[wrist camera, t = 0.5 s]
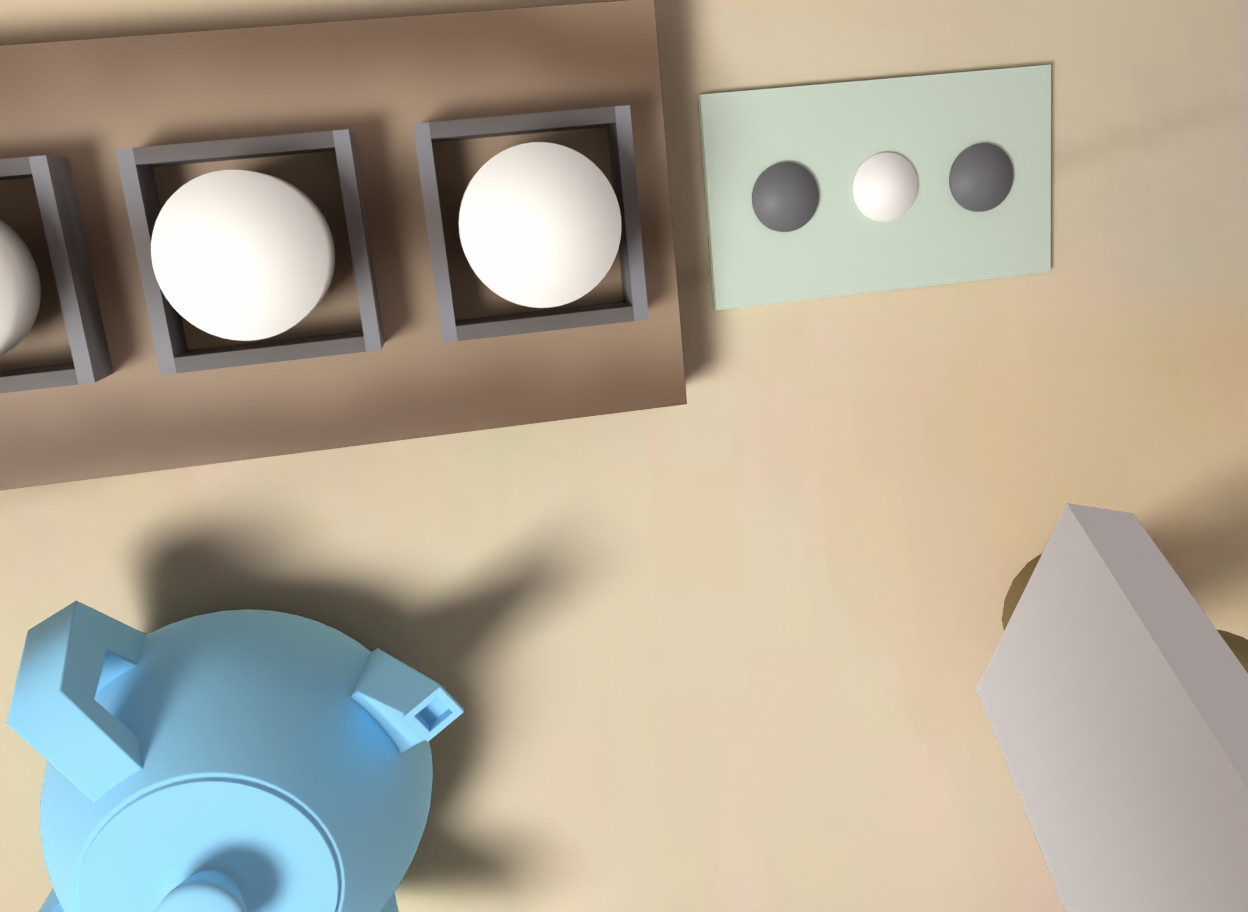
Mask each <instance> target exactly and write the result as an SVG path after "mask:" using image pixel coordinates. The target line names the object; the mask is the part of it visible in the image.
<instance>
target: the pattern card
mask: <svg viewBox="0 0 1248 912" xmlns="http://www.w3.org/2000/svg"><path fill="white" fill-rule="evenodd" d="M698 103H699V117H700V131H701V144H702V158H703V171H704V185H705V198H706V212H707V226H708V239H709V253H710V266H711V280H712V294H713V307H714V310H724V309H732V308H741V307H750V306H759V305H767V304H776V303H785V302H794V301H803V300H811V299H820V298H829V297H838V296H846V295H855V294H864V293H873V292H882V291H890V290H899V289H908V288H917V287H925V286H934V285H943V284H952V283H960V282H969V281H978V280H987V279H996V278H1004V277H1013V276H1022V275H1031V274H1039V273H1048V272H1051V65H1040V66H1029V67H1017V68H1005V69H994V70H982V71H970V72H958V73H947V74H935V75H923V76H911V77H900V78H888V79H876V80H865V81H853V82H841V83H829V84H818V85H806V86H794V87H782V88H771V89H759V90H747V91H736V92H724V93H712V94H700V95H698Z"/></svg>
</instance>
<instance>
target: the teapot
mask: <svg viewBox="0 0 1248 912" xmlns="http://www.w3.org/2000/svg"><path fill="white" fill-rule="evenodd" d="M463 712H464V708H463V707H462V706H461V705H460V704H459V703H458V702H457V701H456V700H455V699H454V698H453V697H452V696H451V695H450V694H449V693H448V692H447V691H446V690H445V689H444V688H443V687H442V685H441V684H439V683H438V682H436V681H434V680H433V679H431V678H429V677H427V676H426V675H424V674H422V673H421V672H419V671H417V670H415V669H414V668H412V667H410V666H408V665H407V664H405V663H403V662H402V661H400V660H398V659H396V658H395V657H393V656H391V655H389V654H388V653H386V652H384V651H383V650H381V649H379V648H377V649H375V650H374V651H372V652H370V651H369V650H368V649H367V648H365V647H364V646H363V645H362V644H360V643H359V642H357V641H356V640H354V639H352V638H351V637H349V636H347V635H346V634H344V633H342V632H341V631H339V630H336V629H334V628H332V627H330V626H327V625H325V624H323V623H320V622H318V621H315V620H312V619H308V618H305V617H302V616H298V615H295V614H289V613H283V612H277V611H271V610H252V609H244V610H229V611H219V612H214V613H208V614H203V615H198V616H193V617H190V618H187V619H184V620H181V621H177V622H174V623H171V624H169V625H167V626H164V627H162V628H160V629H158V630H156V631H153V632H151V633H149V634H147V635H146V634H144V633H142V632H140V631H138V630H136V629H134V628H132V627H130V626H128V625H126V624H124V623H121V622H119V621H117V620H115V619H113V618H111V617H109V616H107V615H105V614H103V613H101V612H99V611H97V610H95V609H92V608H90V607H88V606H86V605H84V604H82V603H80V602H78V601H75V602H73V603H72V604H70V605H69V606H67V607H65V608H64V609H62V610H60V611H59V612H57V613H56V614H54V615H52V616H51V617H49V618H47V619H46V620H44V621H43V622H41V623H39V624H38V625H36V626H34V627H33V628H31V629H30V630H28V633H27V637H26V641H25V646H24V650H23V654H22V658H21V663H20V667H19V671H18V676H17V680H16V684H15V689H14V693H13V697H12V702H11V706H10V710H9V714H8V719H7V723H6V724H7V725H8V726H10V727H11V728H12V729H13V730H14V731H15V732H16V733H17V734H18V735H20V736H21V737H22V738H23V739H24V740H25V741H26V742H27V743H28V744H30V745H31V746H32V747H33V748H34V749H35V750H36V751H37V752H38V753H40V754H41V755H42V756H43V757H44V758H45V759H46V760H47V761H48V763H47V766H46V770H45V776H44V782H43V788H42V795H41V801H40V831H41V841H42V848H43V855H44V861H45V864H46V867H47V870H48V874H49V877H50V880H51V883H52V886H53V890H52V891H51V893H50V894H49V896H48V898H47V899H46V901H45V902H44V904H43V906H42V907H41V909H40V911H39V912H399V911H398V907H397V902H396V898H395V893H394V892H395V891H396V889H397V888H398V886H399V884H400V882H401V880H402V879H403V877H404V875H405V873H406V871H407V870H408V868H409V866H410V864H411V862H412V860H413V858H414V856H415V853H416V850H417V848H418V845H419V843H420V840H421V838H422V835H423V832H424V829H425V826H426V822H427V818H428V813H429V809H430V802H431V792H432V781H433V767H432V753H431V748H430V743H429V741H430V740H431V739H432V738H433V737H434V736H436V735H437V734H438V733H439V732H441V731H442V730H443V729H444V728H445V727H447V726H448V725H449V724H450V723H451V722H453V721H454V720H455V719H456V718H457V717H459V716H460V715H461V714H462V713H463Z"/></svg>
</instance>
